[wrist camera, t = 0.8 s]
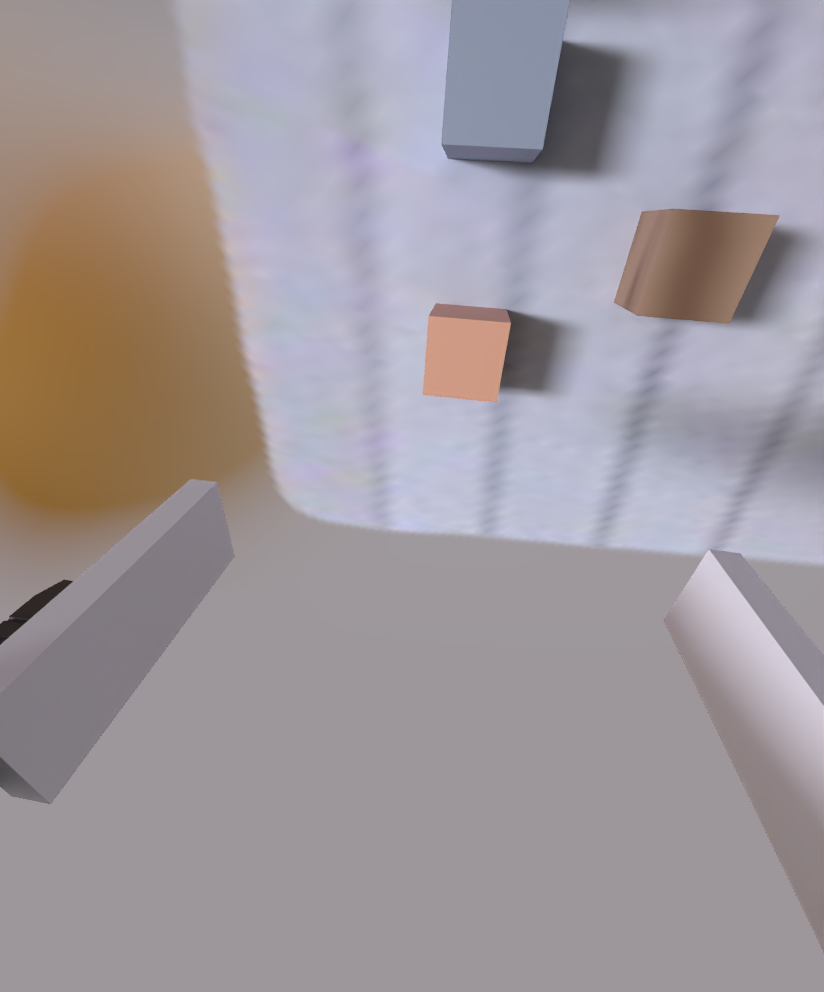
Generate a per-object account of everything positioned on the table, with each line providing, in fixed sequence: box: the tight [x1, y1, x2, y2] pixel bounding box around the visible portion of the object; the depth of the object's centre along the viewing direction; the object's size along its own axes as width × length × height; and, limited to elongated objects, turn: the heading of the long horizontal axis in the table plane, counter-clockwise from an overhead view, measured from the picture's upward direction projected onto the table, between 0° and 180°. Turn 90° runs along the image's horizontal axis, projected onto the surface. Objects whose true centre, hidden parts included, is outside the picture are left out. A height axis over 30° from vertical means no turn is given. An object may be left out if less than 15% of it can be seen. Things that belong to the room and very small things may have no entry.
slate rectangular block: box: [442, 0, 570, 163], centre depth 21 cm, size 5×5×5 cm
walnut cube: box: [614, 209, 780, 323], centre depth 24 cm, size 5×5×5 cm
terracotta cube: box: [423, 304, 511, 402], centre depth 28 cm, size 5×5×5 cm
